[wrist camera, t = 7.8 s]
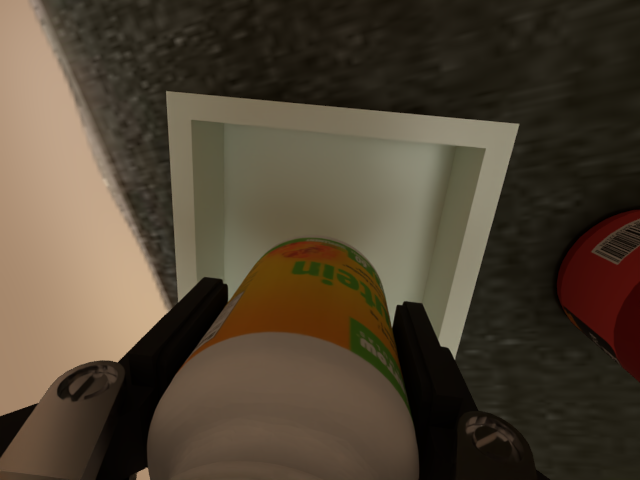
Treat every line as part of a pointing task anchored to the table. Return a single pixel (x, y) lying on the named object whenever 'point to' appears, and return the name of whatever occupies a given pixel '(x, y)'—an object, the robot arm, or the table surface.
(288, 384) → the supplement bottle
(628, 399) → the table surface
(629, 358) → the canned food
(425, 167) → the bin
